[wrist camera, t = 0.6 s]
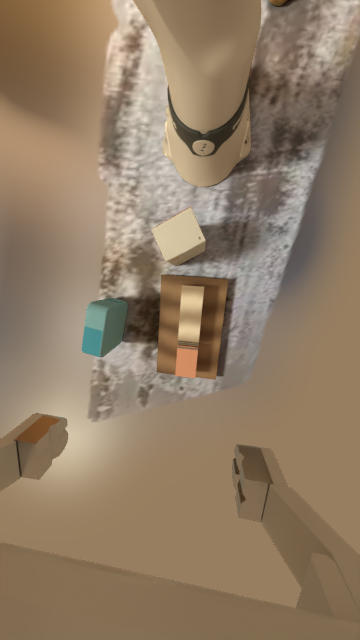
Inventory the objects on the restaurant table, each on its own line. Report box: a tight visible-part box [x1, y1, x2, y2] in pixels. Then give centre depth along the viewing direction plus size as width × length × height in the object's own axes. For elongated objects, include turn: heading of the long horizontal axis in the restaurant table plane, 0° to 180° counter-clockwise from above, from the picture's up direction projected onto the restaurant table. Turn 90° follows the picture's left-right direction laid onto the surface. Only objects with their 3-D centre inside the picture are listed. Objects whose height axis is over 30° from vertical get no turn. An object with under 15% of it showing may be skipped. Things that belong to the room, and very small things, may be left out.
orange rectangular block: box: [175, 344, 198, 378], centre depth 48 cm, size 8×5×4 cm, turn 176°
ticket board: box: [157, 275, 228, 379], centre depth 47 cm, size 26×16×6 cm, turn 176°
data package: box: [82, 298, 128, 357], centre depth 46 cm, size 12×4×12 cm, turn 166°
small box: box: [152, 207, 206, 266], centre depth 40 cm, size 8×6×13 cm
